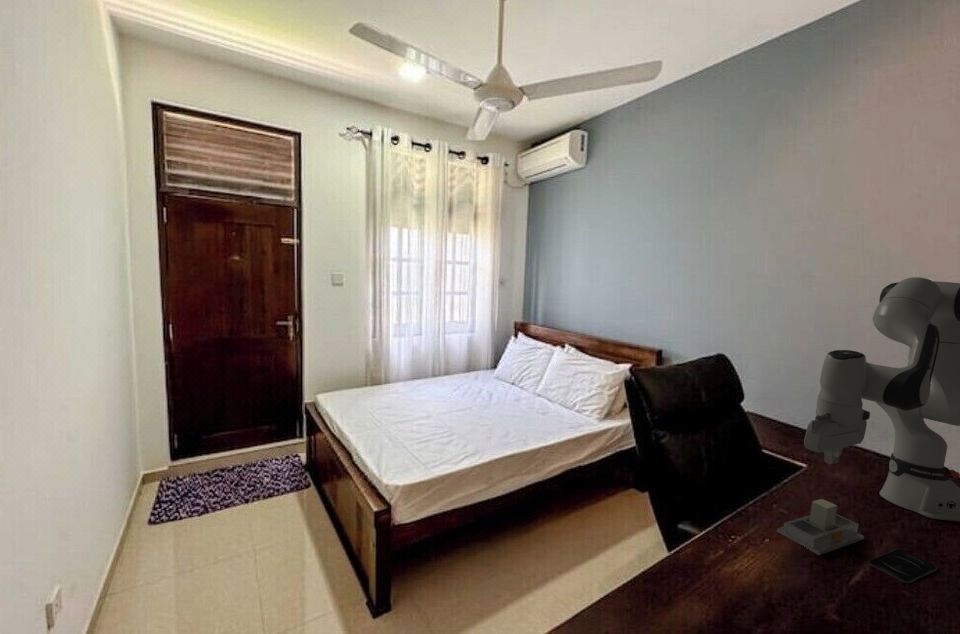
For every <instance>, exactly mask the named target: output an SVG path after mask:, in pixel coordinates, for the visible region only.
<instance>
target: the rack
mask: <svg viewBox="0 0 960 634" xmlns="http://www.w3.org/2000/svg"><path fill="white" fill-rule="evenodd" d="M809 521H810V515H809V514H808V515H805V516H802V517H799V518H798V517H797V518H796V519H792V520H788V521H785V522H784V523H783V526H781V527H777V528H776V533H778V534H780V535H782V536H784V537H785V538H787V539H789V540H791V541H793V542H794V543H796V544H798V545H800V546H801V545H802V547H803V546H804V547H803V548H805V547H806V548H805V549H807V550H808V549H809V550H808V551H811V552H812V553H814V554H816V555H817V556H821V555H824V554H828V553H830V552H833V551H836V550H838V549H841V548H843V547H846V546H849V545H851V544H854V543H857V542H860V541H863V540H864V539H865V535H863V534H861V533H859V532H858V530H859V523H857V522H855V521H854V520H850V519H848V518H846V517H844V516H842V515H839V514H838V513H836V517H835V524H834V529H833V530H830V531H826V530H824V529H822V528H820V527H818V526H816V525H814V524H812V523H810V522H809Z"/></svg>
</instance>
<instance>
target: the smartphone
mask: <svg viewBox="0 0 960 634" xmlns="http://www.w3.org/2000/svg"><path fill="white" fill-rule="evenodd" d="M868 563H869V565H870V566H872V567H874V568H876V569H877V570H879V571H881V572H883V573H885V574H887V575H889V576H890V577H892V578H894V579H895V580H898V581H900V582H902V583H904V584H911V583H913V582H915V581H918V580H920V579H922V578H924V577H926V576H928V575H930V574H933V573H934V572H937V571H938V566H937V565H935V564H933V563H931V562H930V561H927V560H925V559H923V558H921V557H920V556H916V555H914V554H912V553H911V552H908V551H906V550H904V549H900V548H895V549H893V550H891V551H889V552H887V553H885V554H882V555H880V556H877V557H875V558H872V559H870V560H869V561H868Z"/></svg>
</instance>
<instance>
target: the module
mask: <svg viewBox="0 0 960 634" xmlns="http://www.w3.org/2000/svg"><path fill="white" fill-rule="evenodd" d="M837 510H838V505H836V504H834V503H833V502H830V501H828V500H826V499H823V498H819V499H816V500H813V501H811V508H810V521H809V522H810V523H812V524H814V525H816V526H818V527H820V528H822V529H824V530H826V531H830V530H833V529H834V524H835V517H836V514H837Z"/></svg>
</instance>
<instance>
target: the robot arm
mask: <svg viewBox="0 0 960 634" xmlns="http://www.w3.org/2000/svg"><path fill="white" fill-rule="evenodd" d="M880 292H881V293H880V295H879V300H878V301H879V304H878V305H877V307H876V308H875V310H874V312H873V315H872V322H873V325H874V327H875V328H876V330H877V331H878V333H881V334H882V335H883V336H884V337H886V338H887V339H889V340H892V341H895V342H898V343H900V344H903V345H905V346H907V347H909V350H908V351H909V352H908V357H907V360H908V362H907V366H904V367H892V366H885V365H880V364H873V363H871V362H867V357H866V355H865V354H864V353H862V352H859V351H856V350H850V349H836V350H831V351H829V352H827V354H826V356H825V359H824V360H823V364H822V368H821V372H820V377H819V378H820V379H819V383H820V392H819V393H818V395H817V398H816V399H817V400H816V406H815V407H816V409H815V418H814V419H812V420H810V421H809V423H808V424H807V427H806V432H805V435H804V440H803V441H804V442H803V444H804V447H805V448H806V449H807V450H810V451H813V452H815V453H818V454H819V453H823V455H824V460H823V461H824V462H825V464H828V465H832V464H838V463H839V460H840V457H841V455H842V453H843V451H844V448H846V447H851V446H855V445H860V444H861V443H862V442H863V441H864V439H865V435H866V431H867V427H868V426H867V425H868V424H867V423H868V420H870V418H871V412H870V411H868V410H866V409H864V408H863V406H864V405H863V401H862V400H866V401H871V402H874V403H876V404H877V405H878V406H879V407H880V408H881V409H882V410H883V411H884V412H885V413H886V414H887V416H888V417H889V419H890V421H891V422H892V426H893V428H894V444H893V445H894V446H893V452H892V453H891V454H890V458H889V465H888V475H887V477H886V480H885V482H884V484H883V486H882V487H881V490H879V495H880V497H882V498H883V499H885V500H886V501H888V502H890V503H892V504H894V505H896V506H899V507H901V508H903V509H907V510H910V511H912V512H915V513H918V514H920V515H921V516H924V517H927V518H930V519H933V520H944V521H951V522H952V521H953V522H960V486H958V485H957V484H956V483H955V482H953V481H952V480H951V479H950V477H952V478H954V479H959V478H960V472H958V471H956V470H954V469H950V468H948V467H947V466H945V463H946V462H945V461H946V456H947V450H948V444H947V443H948V442H947V441H946V440H945V439H944V437H943V436H942V435H940V434H939V433H937V432H936V431H934V430H932V429H931V428H930V427H928V425H927V424H926V422H925V419H926V420H930V421H934V422H938V423H943V424H947V425H951V426H955V427H956V426H957V427H960V282H951V281H937V280H935V281H934V280H931V279H928V278H924V277H921V276H920V277H918V276H917V277H916V276H915V277H914V276H913V277H909V278H904V279H902V280H900V281H898V282H892V283H890V284H888V285H886V286H885V287H884V288H883V289H882V290H881V291H880Z"/></svg>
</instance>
